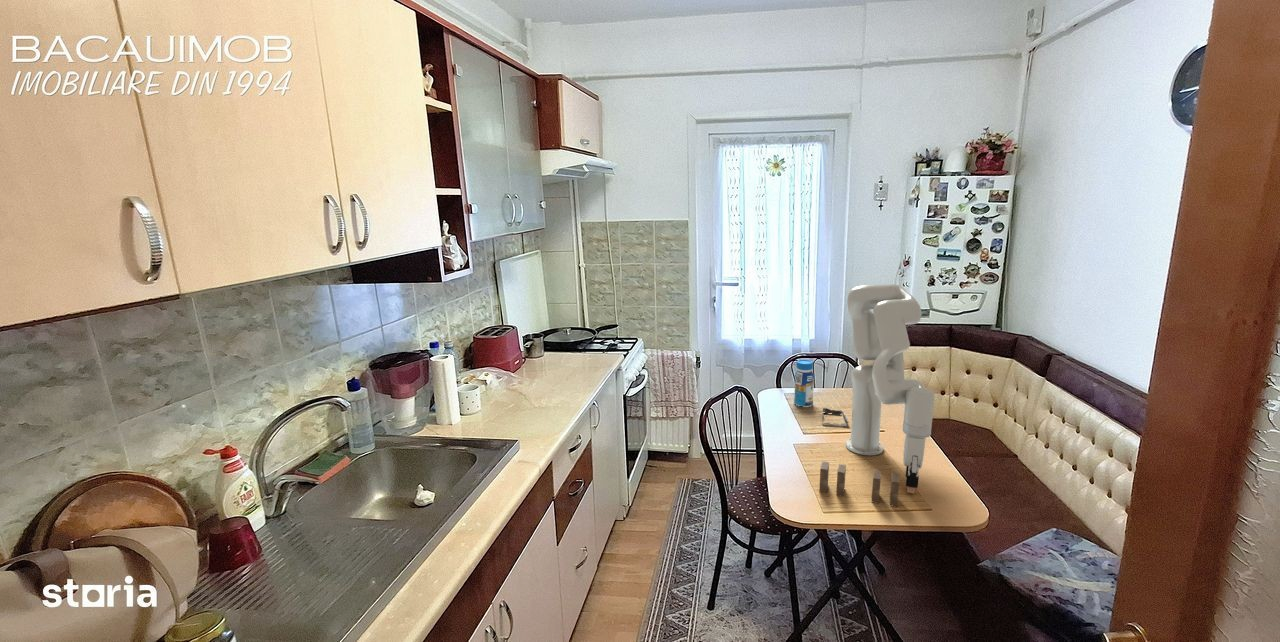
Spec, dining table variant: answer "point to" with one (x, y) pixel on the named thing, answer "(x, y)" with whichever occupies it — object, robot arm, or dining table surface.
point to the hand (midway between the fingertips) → (911, 481)
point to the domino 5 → (911, 489)
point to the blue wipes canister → (804, 383)
